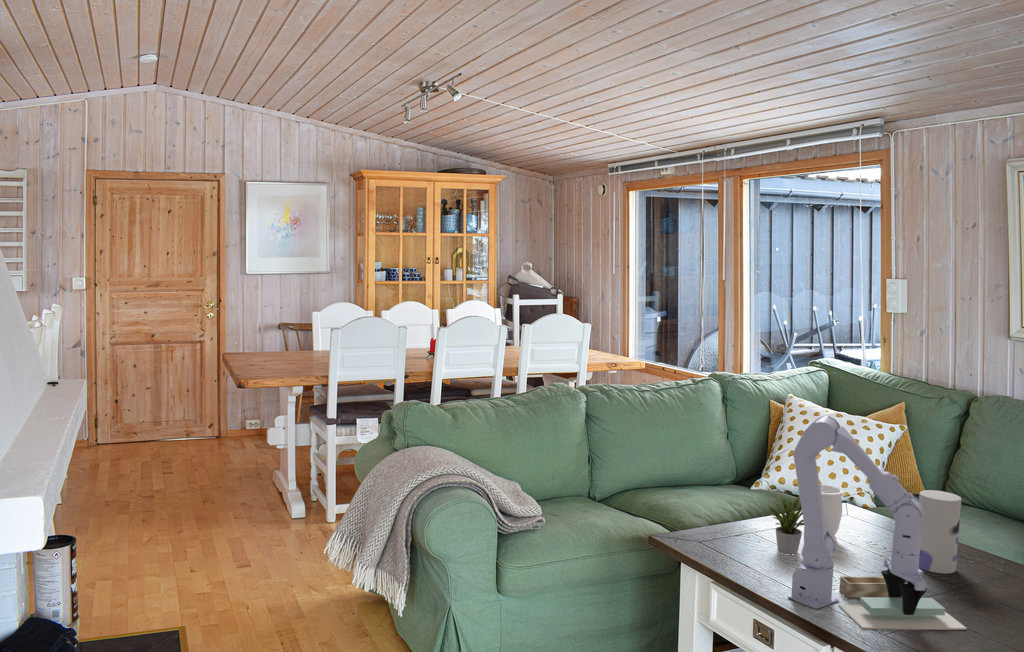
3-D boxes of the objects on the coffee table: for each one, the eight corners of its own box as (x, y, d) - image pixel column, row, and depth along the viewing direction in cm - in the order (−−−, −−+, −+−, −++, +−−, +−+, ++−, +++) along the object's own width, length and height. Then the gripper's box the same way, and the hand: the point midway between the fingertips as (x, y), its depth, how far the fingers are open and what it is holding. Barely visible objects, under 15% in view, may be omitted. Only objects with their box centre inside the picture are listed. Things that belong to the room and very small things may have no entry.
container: (960, 576, 218) (966, 501, 216) (920, 572, 219) (925, 498, 218) (948, 562, 227) (954, 491, 226) (909, 558, 229) (915, 488, 227)
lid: (871, 614, 187) (871, 608, 187) (859, 603, 193) (860, 597, 193) (944, 615, 188) (945, 608, 188) (931, 604, 194) (931, 597, 194)
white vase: (816, 546, 237) (819, 495, 236) (794, 534, 247) (797, 484, 246) (847, 543, 240) (851, 493, 239) (825, 531, 250) (828, 483, 248)
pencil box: (847, 599, 200) (848, 583, 200) (839, 592, 205) (840, 576, 204) (911, 599, 201) (912, 584, 201) (902, 592, 205) (903, 576, 205)
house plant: (811, 544, 238) (815, 489, 237) (824, 562, 224) (828, 503, 223) (760, 541, 239) (763, 486, 238) (770, 559, 226) (774, 500, 224)
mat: (862, 629, 184) (862, 627, 184) (838, 606, 196) (838, 604, 196) (966, 629, 186) (966, 628, 185) (936, 606, 197) (936, 605, 197)
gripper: (940, 563, 182) (935, 622, 184) (906, 540, 197) (901, 595, 198) (909, 562, 182) (905, 622, 183) (877, 539, 196) (873, 595, 198)
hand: (901, 608), depth 191 cm, fingers closed on lid, 6 cm apart
